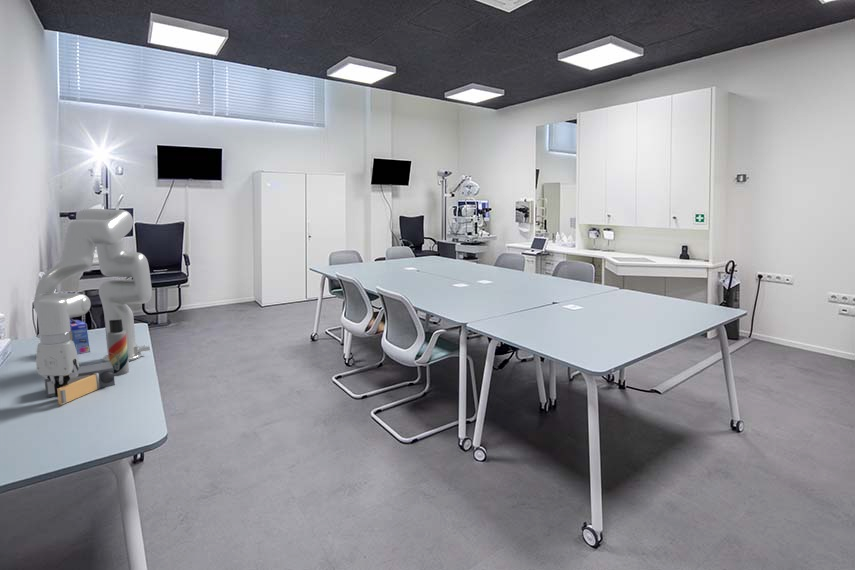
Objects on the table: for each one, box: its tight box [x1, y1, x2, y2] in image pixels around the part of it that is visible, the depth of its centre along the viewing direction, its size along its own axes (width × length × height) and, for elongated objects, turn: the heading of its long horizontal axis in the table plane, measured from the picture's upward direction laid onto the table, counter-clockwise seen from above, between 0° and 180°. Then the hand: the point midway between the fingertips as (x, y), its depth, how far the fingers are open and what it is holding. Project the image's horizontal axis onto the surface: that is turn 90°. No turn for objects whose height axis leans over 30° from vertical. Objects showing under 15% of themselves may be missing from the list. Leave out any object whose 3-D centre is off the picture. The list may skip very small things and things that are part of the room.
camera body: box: [44, 362, 116, 398], centre depth 155 cm, size 18×9×7 cm, turn 130°
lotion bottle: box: [107, 319, 130, 376], centre depth 168 cm, size 6×6×20 cm
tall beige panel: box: [57, 373, 101, 406], centre depth 148 cm, size 14×2×5 cm, turn 170°
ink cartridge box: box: [70, 317, 91, 355], centre depth 192 cm, size 10×6×14 cm, turn 54°
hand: (62, 394), depth 146 cm, fingers closed
